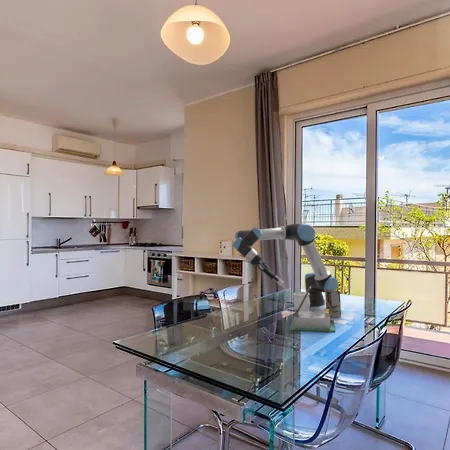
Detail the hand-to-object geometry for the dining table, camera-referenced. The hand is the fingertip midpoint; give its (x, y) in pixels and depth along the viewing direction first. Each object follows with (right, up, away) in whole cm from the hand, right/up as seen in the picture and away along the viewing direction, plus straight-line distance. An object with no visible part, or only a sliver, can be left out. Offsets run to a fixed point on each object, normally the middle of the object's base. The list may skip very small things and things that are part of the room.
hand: (282, 284), depth 212 cm
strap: (+13, -9, -3) cm, 16 cm away
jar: (+16, -24, +19) cm, 35 cm away
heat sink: (+17, -24, -4) cm, 30 cm away
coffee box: (+36, -23, +16) cm, 46 cm away
